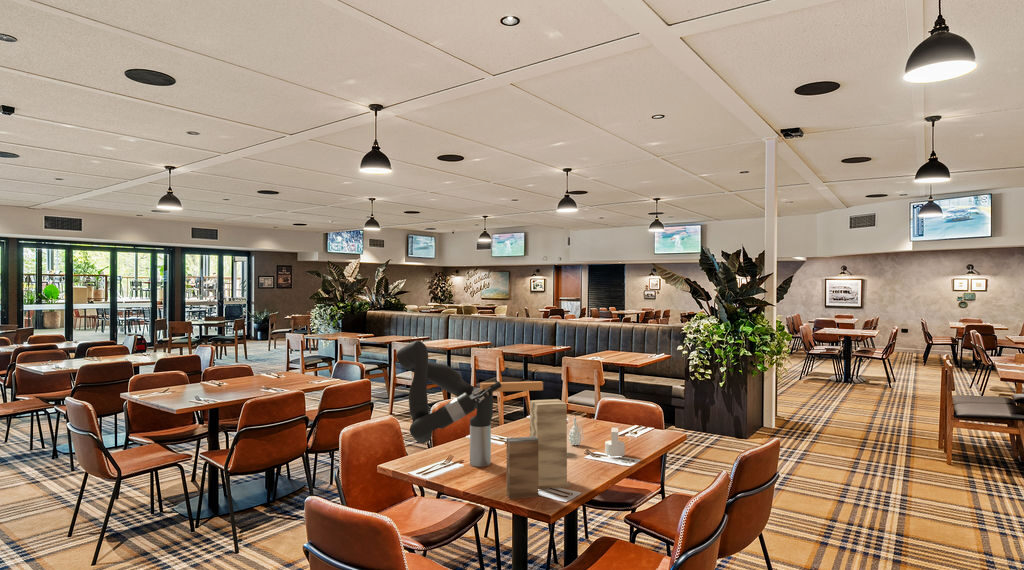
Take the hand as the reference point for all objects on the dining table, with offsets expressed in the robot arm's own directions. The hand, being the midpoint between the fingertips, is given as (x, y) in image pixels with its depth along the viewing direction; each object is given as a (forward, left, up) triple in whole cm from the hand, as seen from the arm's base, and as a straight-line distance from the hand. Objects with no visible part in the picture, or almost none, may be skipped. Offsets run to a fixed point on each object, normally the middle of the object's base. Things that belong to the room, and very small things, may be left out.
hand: (499, 383), depth 211 cm
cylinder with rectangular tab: (-33, +63, -41) cm, 82 cm away
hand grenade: (-54, +52, -41) cm, 85 cm away
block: (+6, +7, -41) cm, 42 cm away
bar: (0, +5, -3) cm, 6 cm away
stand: (-4, +21, -41) cm, 46 cm away
